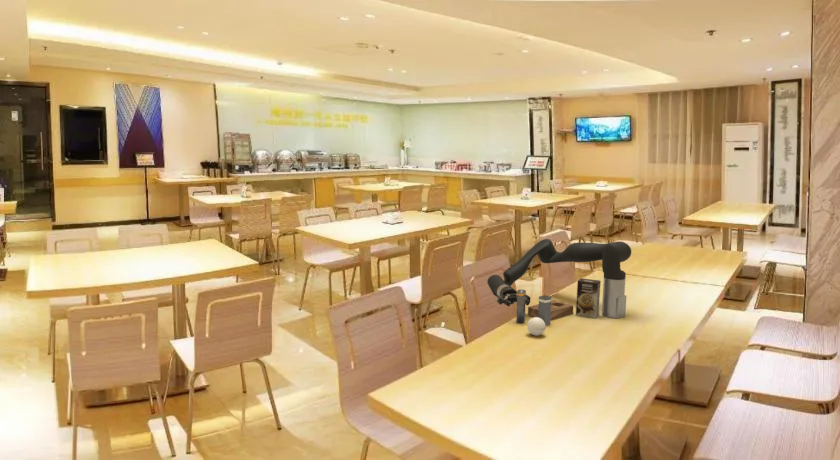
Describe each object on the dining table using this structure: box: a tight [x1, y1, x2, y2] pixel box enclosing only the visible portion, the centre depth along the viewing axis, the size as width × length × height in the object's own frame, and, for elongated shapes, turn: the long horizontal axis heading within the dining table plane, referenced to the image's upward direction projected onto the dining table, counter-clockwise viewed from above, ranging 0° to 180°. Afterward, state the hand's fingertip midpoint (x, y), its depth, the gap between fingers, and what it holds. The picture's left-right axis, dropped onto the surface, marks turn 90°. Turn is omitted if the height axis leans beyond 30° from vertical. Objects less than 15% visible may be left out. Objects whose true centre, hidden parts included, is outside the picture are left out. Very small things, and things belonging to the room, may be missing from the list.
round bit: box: [515, 289, 527, 324], centre depth 258 cm, size 4×4×14 cm
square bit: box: [538, 294, 552, 327], centre depth 256 cm, size 4×4×12 cm
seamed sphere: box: [526, 317, 548, 337], centre depth 242 cm, size 10×7×7 cm
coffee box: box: [575, 277, 601, 319], centre depth 268 cm, size 9×6×16 cm
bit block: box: [527, 299, 574, 321], centre depth 270 cm, size 11×18×4 cm, turn 129°
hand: (518, 303), depth 260 cm, fingers open, 8 cm apart
